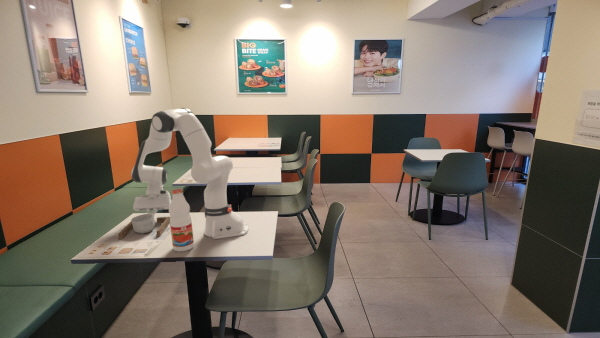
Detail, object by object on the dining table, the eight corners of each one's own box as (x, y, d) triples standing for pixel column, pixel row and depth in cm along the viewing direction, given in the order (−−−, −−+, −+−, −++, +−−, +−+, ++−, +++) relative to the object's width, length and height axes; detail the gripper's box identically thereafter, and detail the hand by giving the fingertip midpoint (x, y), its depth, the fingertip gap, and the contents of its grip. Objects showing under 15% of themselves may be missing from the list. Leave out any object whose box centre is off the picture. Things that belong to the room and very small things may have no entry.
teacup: (147, 236, 169) (145, 221, 167) (128, 234, 171) (126, 220, 170) (163, 225, 182) (161, 211, 181) (145, 224, 185) (144, 210, 183)
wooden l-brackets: (170, 221, 188) (170, 216, 187) (160, 236, 168) (159, 230, 168) (134, 224, 186) (133, 219, 185) (119, 239, 166) (118, 233, 166)
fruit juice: (192, 241, 161) (186, 186, 155) (196, 249, 153) (189, 191, 147) (171, 245, 157) (164, 189, 151) (174, 253, 149) (167, 194, 143)
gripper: (133, 193, 188) (129, 215, 180) (170, 191, 190) (167, 213, 183) (137, 198, 193) (133, 220, 186) (173, 196, 195) (171, 217, 188)
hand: (150, 216), depth 184 cm, fingers closed
